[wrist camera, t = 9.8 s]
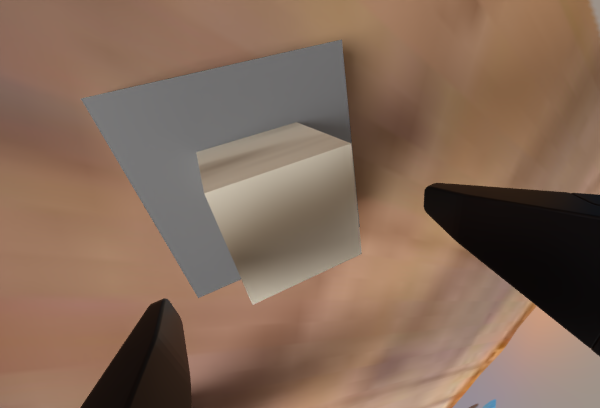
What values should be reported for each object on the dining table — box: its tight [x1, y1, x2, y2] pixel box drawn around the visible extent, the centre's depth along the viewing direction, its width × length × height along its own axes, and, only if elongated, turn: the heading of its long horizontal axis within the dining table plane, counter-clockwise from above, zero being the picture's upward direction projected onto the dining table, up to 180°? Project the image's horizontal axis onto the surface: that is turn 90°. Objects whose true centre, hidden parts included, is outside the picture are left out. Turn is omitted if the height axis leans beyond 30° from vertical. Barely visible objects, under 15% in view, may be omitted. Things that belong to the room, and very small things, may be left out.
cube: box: [196, 122, 362, 305], centre depth 11 cm, size 5×5×5 cm
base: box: [81, 40, 360, 298], centre depth 15 cm, size 11×11×3 cm
